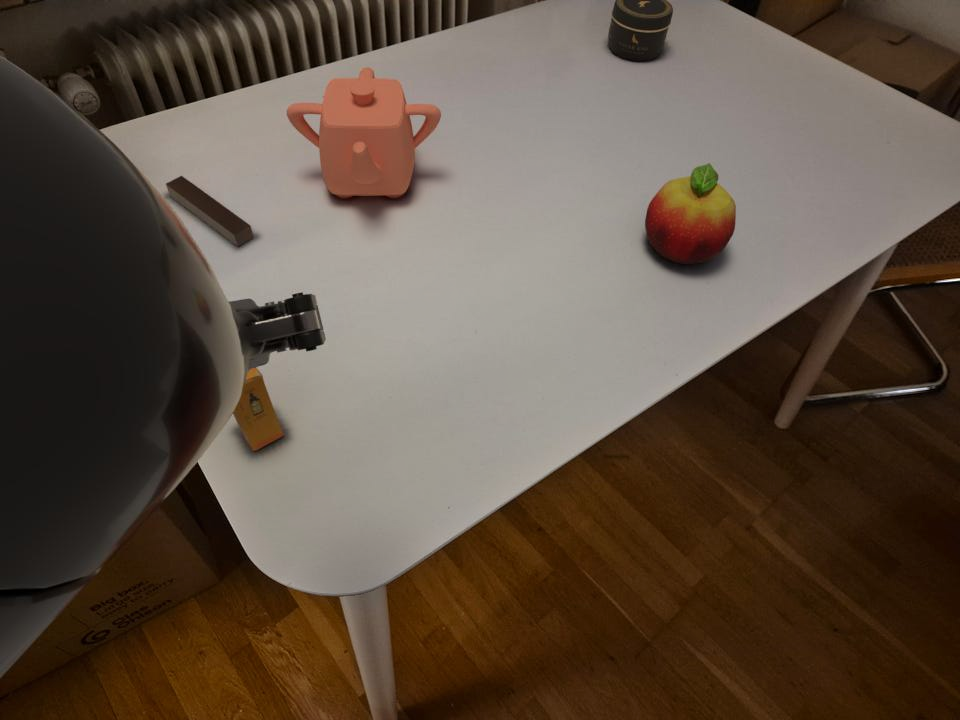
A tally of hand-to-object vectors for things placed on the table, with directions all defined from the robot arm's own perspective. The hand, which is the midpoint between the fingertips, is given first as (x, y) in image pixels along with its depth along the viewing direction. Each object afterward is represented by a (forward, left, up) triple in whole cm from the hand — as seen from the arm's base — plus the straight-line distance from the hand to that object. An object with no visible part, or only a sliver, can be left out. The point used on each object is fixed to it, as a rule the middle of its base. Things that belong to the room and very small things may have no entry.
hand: (196, 343), depth 39 cm
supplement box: (+5, +9, -26) cm, 28 cm away
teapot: (+40, +30, -26) cm, 57 cm away
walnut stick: (+21, +39, -26) cm, 52 cm away
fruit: (+58, -8, -26) cm, 64 cm away
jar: (+98, +24, -26) cm, 105 cm away
